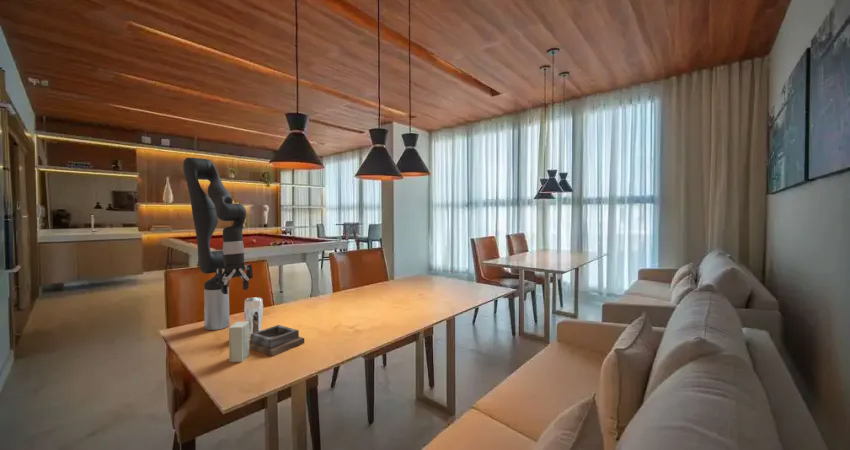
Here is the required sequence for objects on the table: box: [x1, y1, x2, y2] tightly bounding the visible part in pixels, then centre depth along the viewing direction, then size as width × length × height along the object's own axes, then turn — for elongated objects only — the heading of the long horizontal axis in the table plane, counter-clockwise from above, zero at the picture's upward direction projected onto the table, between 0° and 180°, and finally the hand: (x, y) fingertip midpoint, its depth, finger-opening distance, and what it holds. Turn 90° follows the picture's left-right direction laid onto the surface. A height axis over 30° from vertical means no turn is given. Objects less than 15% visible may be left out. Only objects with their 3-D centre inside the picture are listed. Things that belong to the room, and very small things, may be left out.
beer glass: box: [243, 296, 264, 339], centre depth 142 cm, size 7×7×15 cm
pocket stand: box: [249, 324, 305, 357], centre depth 133 cm, size 16×14×5 cm
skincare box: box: [228, 321, 250, 363], centre depth 120 cm, size 6×4×12 cm
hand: (235, 291), depth 143 cm, fingers open, 8 cm apart
